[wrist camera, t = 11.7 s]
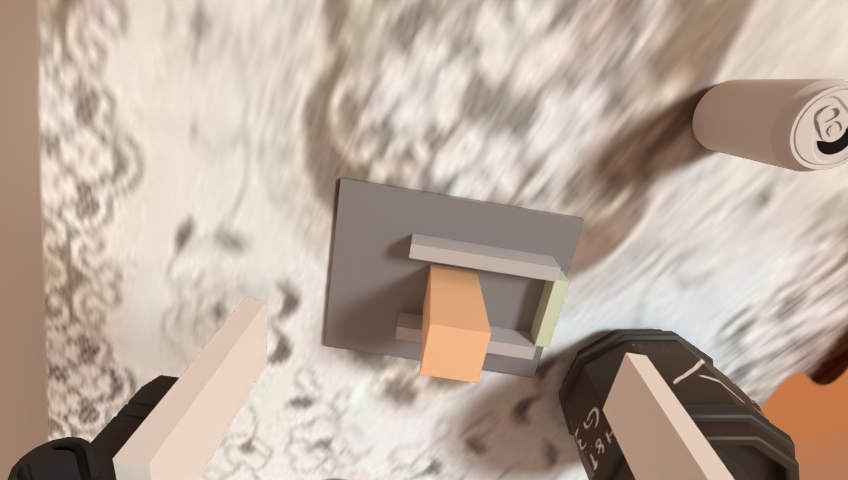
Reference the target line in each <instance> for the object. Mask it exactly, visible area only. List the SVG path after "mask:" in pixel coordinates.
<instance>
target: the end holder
mask: <svg viewBox="0 0 848 480" xmlns="http://www.w3.org/2000/svg"><path fill="white" fill-rule="evenodd" d="M583 221H584V219H583V218H580V217H574V216H568V215H562V214H556V213H550V212H544V211H538V210H532V209H526V208H521V207H515V206H509V205H503V204H497V203H491V202H485V201H479V200H473V199H467V198H461V197H455V196H449V195H443V194H437V193H431V192H426V191H420V190H414V189H408V188H402V187H396V186H390V185H384V184H378V183H372V182H366V181H360V180H354V179H348V178H341V179H340V189H339V199H338V210H337V220H336V230H335V240H334V250H333V261H332V271H331V281H330V291H329V301H328V311H327V322H326V332H325V342H324V346H329V347H335V348H342V349H348V350H355V351H361V352H368V353H374V354H381V355H388V356H394V357H401V358H407V359H414V360H420V361H421V344H422V323H423V303H424V298H425V293H426V287H427V282H428V277H429V272H430V266H431V264H437V265H443V266H450V267H456V268H462V269H468V270H474V271H477V274H478V278H479V282H480V287H481V291H482V296H483V300H484V304H485V309H486V313H487V318H488V322H489V326H490V331H491V336H490V340H489V343H488V347H487V351H486V355H485V359H484V362H483V366H482V370H486V371H492V372H499V373H505V374H512V375H518V376H525V377H531V378H534V376H535V372H536V369H537V366H538V363H539V360H540V357H541V354H542V350H543V347H548V348H549V345H550V342H551V339H552V336H553V332H554V329H555V326H556V323H557V320H558V317H559V314H560V311H561V308H562V305H563V301H564V298H565V295H566V292H567V289H568V286H569V283H570V282H569V280H568V279H567V277H566V275H567V272H568V268H569V265H570V262H571V259H572V256H573V253H574V250H575V246H576V243H577V240H578V237H579V234H580V231H581V227H582V224H583Z"/></svg>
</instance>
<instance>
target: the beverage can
mask: <svg viewBox="0 0 848 480" xmlns="http://www.w3.org/2000/svg"><path fill="white" fill-rule="evenodd" d="M692 126H693V132H694V135H695V137H696V139H697V140H698V142H699V143H700V144H701V145H703V146H704V147H705V148H707V149H710V150H713V151H717V152H721V153H725V154H729V155H734V156H738V157H742V158H746V159H750V160H754V161H758V162H762V163H766V164H770V165H774V166H778V167H782V168H787V169H791V170H795V171H815V170H824V169H831V168H835V167H838V166H840V165H843V164H845V163H846V162H848V81H845V80H840V79H761V80H730V81H726V82H723V83H721V84H719V85H717V86H715V87H713V88H712V89H711V90H709V91H708V92H707V93H706V94H705V95H704V96H703V97H702V99H701V100H700V102H699V103H698V105H697V107H696V109H695V112H694V115H693V121H692Z"/></svg>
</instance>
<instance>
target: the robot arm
mask: <svg viewBox="0 0 848 480" xmlns="http://www.w3.org/2000/svg"><path fill="white" fill-rule="evenodd" d="M266 360H267V301H262V300H255V299H248V298H245V299H244V300H243V301H242V303H241V304H240V305H239V306H238V307H237V309H236V310H235V311H234V312H233V313H232V315H231V316H230V317H229V318H228V320H227V321H226V322H225V323H224V324H223V326H222V327H221V328H220V329H219V330H218V332H217V333H216V334H215V335H214V337H213V338H212V339H211V340H210V341H209V343H208V344H207V345H206V346H205V347H204V349H203V350H202V351H201V352H200V354H199V355H198V356H197V357H196V358H195V360H194V361H193V362H192V363H191V364H190V366H189V367H188V368H187V369H186V370H185V372H184V373H183V374H182V375H181V377H180V378H177V377H170V376H163V375H160V376H159V377H157V378H155V379H154V380H152V381H151V382H149V383H147V384H146V385H144V386H143V387H141V389H140V390H139V391H138V392H137V393H136V394H135V395H134V396H133V397H132V398H131V399H130V401H129V403H128V404H126V405H125V406H124V407H123V408H122V409H121V410H120V411H119V413H118V415H117V417H114V418H113V419H112V420H111V421H110V422H109V423H108V425H107V426H106V427H105V428H104V429H103V430H102V431H101V432H100V433H99V434H98V435H97V437H96V438H95V439H94V440H93V441H92V442H91V443H89V442H88V441H86V440H84V439H82V438H77V437H66V438H61V439H56V440H52V441H50V442H47V443H45V444H43V445H41V446H38V447H36V448H35V449H33V450H32V451H30V452H29V453H27V454H26V455H24V456H23V457H22V458H21V459H20V460H19V461H18V462H17V463H16V464H15V466H14V467H13V468H12V470H11V472H10V475H9V477H8V480H200V478H201V476H202V474H203V473H204V471H205V469H206V467H207V466H208V464H209V462H210V460H211V459H212V457H213V455H214V453H215V452H216V450H217V448H218V446H219V445H220V443H221V441H222V440H223V438H224V436H225V434H226V433H227V431H228V429H229V427H230V426H231V424H232V422H233V420H234V419H235V417H236V415H237V413H238V412H239V410H240V408H241V406H242V405H243V403H244V401H245V399H246V398H247V396H248V394H249V393H250V391H251V389H252V387H253V386H254V384H255V382H256V380H257V379H258V377H259V375H260V373H261V372H262V370H263V368H264V366H265V365H266ZM603 412H604V414H605V416H606V418H607V420H608V422H609V424H610V426H611V429H612V431H613V433H614V435H615V437H616V439H617V441H618V443H619V445H620V448H621V450H622V452H623V454H624V456H625V458H626V460H627V462H628V464H629V467H630V469H631V471H632V473H633V475H634V477H635V479H636V480H750V478H749V477H748V476H747V474H746V473H745V472H744V470H743V469H742V468H741V467H740V466H739V465H738V464H737V463H736V462H735V461H734V460H732V459H731V458H730V457H729V456H728V455H727V454H726V453H725V452H723V451H716V450H713V449H712V447H711V446H710V444H709V443H708V441H707V440H706V439H705V437H704V436H703V434H702V433H701V432H700V430H699V429H698V427H697V426H696V425H695V423H694V422H693V420H692V419H691V418H690V416H689V415H688V413H687V412H686V411H685V409H684V408H683V406H682V405H681V404H680V402H679V401H678V399H677V398H676V396H675V395H674V394H673V392H672V391H671V389H670V388H669V387H668V385H667V384H666V382H665V381H664V380H663V378H662V377H661V375H660V374H659V373H658V371H657V370H656V368H655V367H654V366H653V364H652V363H651V361H650V360H649V359H648V357H647V356H646V355H639V354H632V353H626V354H625V356H624V358H623V361H622V363H621V366H620V368H619V371H618V373H617V376H616V378H615V380H614V383H613V385H612V388H611V390H610V393H609V395H608V398H607V400H606V403H605V405H604V407H603Z"/></svg>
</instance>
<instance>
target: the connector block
mask: <svg viewBox="0 0 848 480" xmlns="http://www.w3.org/2000/svg"><path fill="white" fill-rule="evenodd" d="M490 336H491V331H490V326H489V322H488V318H487V313H486V309H485V304H484V300H483V296H482V291H481V287H480V282H479V278H478V274H477V271H474V270H468V269H462V268H456V267H450V266H443V265H437V264H431V266H430V272H429V277H428V282H427V287H426V293H425V298H424V303H423V323H422V344H421V366H420V374H422V375H428V376H435V377H442V378H448V379H455V380H461V381H468V382H475V383H478V382H479V378H480V374H481V370H482V366H483V362H484V359H485V355H486V351H487V347H488V343H489V340H490Z"/></svg>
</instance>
